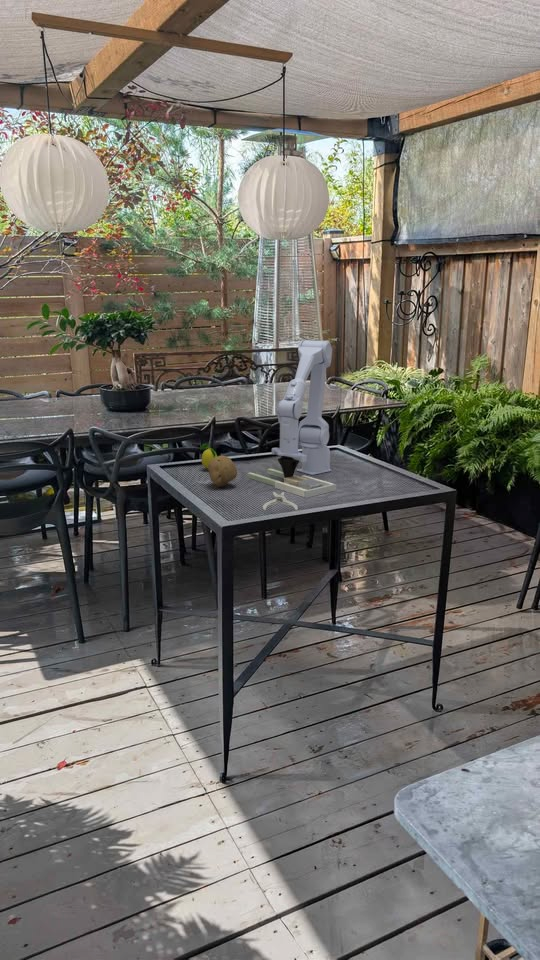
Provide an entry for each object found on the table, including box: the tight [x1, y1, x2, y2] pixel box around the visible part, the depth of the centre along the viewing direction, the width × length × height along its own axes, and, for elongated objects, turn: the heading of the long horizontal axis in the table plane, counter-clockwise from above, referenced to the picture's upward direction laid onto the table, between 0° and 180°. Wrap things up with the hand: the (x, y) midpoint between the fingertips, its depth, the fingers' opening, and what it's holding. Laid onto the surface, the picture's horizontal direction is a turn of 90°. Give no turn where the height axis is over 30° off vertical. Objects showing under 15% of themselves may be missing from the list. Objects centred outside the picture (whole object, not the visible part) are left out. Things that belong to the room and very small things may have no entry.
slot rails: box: [246, 467, 296, 487], centre depth 229 cm, size 10×15×2 cm, turn 40°
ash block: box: [283, 475, 308, 487], centre depth 220 cm, size 5×6×3 cm
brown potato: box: [207, 454, 238, 488], centre depth 219 cm, size 9×9×10 cm
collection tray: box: [274, 475, 337, 499], centre depth 218 cm, size 12×14×2 cm
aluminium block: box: [298, 479, 323, 490], centre depth 216 cm, size 5×6×3 cm
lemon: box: [199, 441, 218, 470], centre depth 240 cm, size 7×6×10 cm
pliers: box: [262, 491, 299, 512], centre depth 204 cm, size 10×2×15 cm
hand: (288, 479), depth 223 cm, fingers closed
